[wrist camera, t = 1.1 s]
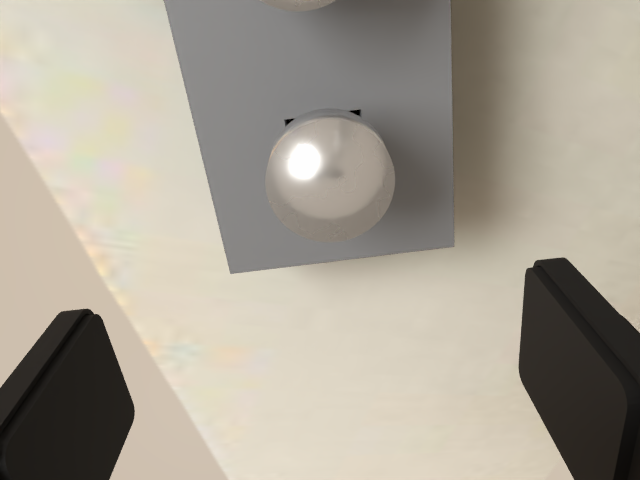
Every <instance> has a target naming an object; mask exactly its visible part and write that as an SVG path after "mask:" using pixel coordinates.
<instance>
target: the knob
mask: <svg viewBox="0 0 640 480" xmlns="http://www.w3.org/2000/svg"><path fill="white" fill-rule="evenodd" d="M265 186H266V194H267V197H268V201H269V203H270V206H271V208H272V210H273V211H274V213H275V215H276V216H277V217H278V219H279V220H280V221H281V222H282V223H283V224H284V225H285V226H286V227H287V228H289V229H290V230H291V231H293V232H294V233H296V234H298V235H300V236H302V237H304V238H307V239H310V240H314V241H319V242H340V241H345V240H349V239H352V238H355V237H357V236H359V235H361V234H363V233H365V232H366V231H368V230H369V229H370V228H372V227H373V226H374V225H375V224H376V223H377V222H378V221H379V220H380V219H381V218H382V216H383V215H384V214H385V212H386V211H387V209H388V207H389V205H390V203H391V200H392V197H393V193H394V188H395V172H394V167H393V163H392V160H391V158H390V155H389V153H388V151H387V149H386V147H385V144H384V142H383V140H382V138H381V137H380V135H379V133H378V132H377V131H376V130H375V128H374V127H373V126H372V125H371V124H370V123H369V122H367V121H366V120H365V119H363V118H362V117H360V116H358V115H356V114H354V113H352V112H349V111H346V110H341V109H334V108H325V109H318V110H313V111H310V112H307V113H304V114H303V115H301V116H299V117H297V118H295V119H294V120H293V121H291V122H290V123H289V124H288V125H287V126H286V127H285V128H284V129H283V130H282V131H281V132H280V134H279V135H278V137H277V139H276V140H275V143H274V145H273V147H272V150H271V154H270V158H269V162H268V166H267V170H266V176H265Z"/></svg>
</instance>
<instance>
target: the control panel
mask: <svg viewBox="0 0 640 480" xmlns="http://www.w3.org/2000/svg"><path fill="white" fill-rule="evenodd" d="M164 3H165V7H166V11H167V15H168V19H169V23H170V27H171V31H172V35H173V40H174V44H175V48H176V52H177V56H178V60H179V64H180V68H181V72H182V77H183V81H184V85H185V89H186V93H187V97H188V101H189V105H190V109H191V114H192V118H193V122H194V126H195V130H196V134H197V138H198V142H199V146H200V151H201V155H202V159H203V163H204V167H205V171H206V175H207V179H208V183H209V188H210V192H211V196H212V200H213V204H214V208H215V212H216V216H217V220H218V225H219V229H220V233H221V237H222V241H223V245H224V249H225V253H226V257H227V262H228V266H229V270H230V274H234V273H242V272H250V271H258V270H267V269H275V268H283V267H291V266H299V265H308V264H316V263H324V262H332V261H341V260H349V259H357V258H365V257H373V256H382V255H390V254H398V253H406V252H415V251H423V250H431V249H439V248H448V247H454V189H453V122H452V54H451V0H336V1H334V2H332V3H330V4H328V5H326V6H324V7H321V8H318V9H314V10H310V11H299V12H296V11H286V10H282V9H278V8H275V7H272V6H269V5H267V4H265V3H264V2H262V1H260V0H164ZM325 108H334V109H341V110H346V111H352V110H359V109H360V117H362V118H363V119H365V120H366V121H367V122H369V123H370V124H371V125H372V126H373V127H374V128H375V130H376V131H377V132H378V133H379V135H380V137H381V138H382V140H383V142H384V144H385V147H386V149H387V151H388V153H389V155H390V158H391V160H392V163H393V167H394V172H395V188H394V193H393V197H392V200H391V203H390V205H389V207H388V209H387V211H386V212H385V214H384V215H383V216H382V218H381V219H380V220H379V221H378V222H377V223H376V224H375V225H374V226H373V227H372V228H370V229H369V230H368V231H366V232H365V233H363V234H361V235H359V236H357V237H355V238H352V239H349V240H345V241H340V242H319V241H314V240H310V239H307V238H304V237H302V236H300V235H298V234H296V233H294V232H293V231H291V230H290V229H289V228H287V227H286V226H285V225H284V224H283V223H282V222H281V221H280V220H279V219H278V217H277V216H276V215H275V213H274V211H273V210H272V208H271V206H270V203H269V201H268V197H267V194H266V186H265V176H266V170H267V166H268V162H269V158H270V154H271V150H272V147H273V145H274V143H275V140H276V139H277V137H278V135H279V134H280V132H281V131H282V130H283V129H284V128H285V127H286V126H287V123H286V119H293V118H297V117H299V116H301V115H303V114H304V113H307V112H310V111H313V110H318V109H325Z"/></svg>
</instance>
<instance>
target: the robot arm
mask: <svg viewBox="0 0 640 480" xmlns="http://www.w3.org/2000/svg"><path fill="white" fill-rule="evenodd" d="M519 374H520V378H521V381H522V383H523V385H524V387H525V389H526V391H527V393H528V395H529V396H530V398H531V400H532V402H533V404H534V406H535V408H536V409H537V411H538V413H539V415H540V417H541V419H542V421H543V422H544V424H545V426H546V428H547V430H548V432H549V434H550V435H551V437H552V439H553V441H554V443H555V445H556V447H557V448H558V450H559V452H560V454H561V456H562V458H563V460H564V461H565V463H566V465H567V467H568V469H569V471H570V473H571V474H572V476H573V478H574V480H640V333H639V332H638V331H637V330H636V329H635V328H634V327H633V326H632V325H631V324H630V323H629V322H628V321H627V319H625V318H624V317H623V316H621V315H620V314H619V313H618V312H617V311H616V310H615V309H614V308H613V307H612V306H611V305H610V304H609V303H608V301H607V300H606V299H605V298H604V297H603V296H602V295H601V294H600V293H599V292H598V291H597V290H596V289H595V288H594V287H593V286H592V285H591V284H590V283H589V282H588V281H587V279H586V278H585V277H584V276H583V275H582V274H581V273H580V272H579V271H578V270H577V269H576V268H575V267H574V266H573V265H572V264H571V263H570V262H569V261H568V260H567V259H566V258H554V259H544V260H537V261H536V262H535V263H534V266H533V268H528V269H527V270H526V274H525V285H524V299H523V313H522V327H521V341H520V354H519ZM134 412H135V411H134V404H133V401H132V399H131V396H130V393H129V391H128V388H127V385H126V383H125V380H124V377H123V374H122V372H121V369H120V366H119V364H118V361H117V358H116V355H115V353H114V350H113V347H112V345H111V342H110V339H109V336H108V334H107V331H106V329H105V326H104V323H103V320H102V318H101V317H100V316H99V315H98V314H94V313H93V312H92V311H91V310H89V309H80V310H71V311H63V312H60V313H59V314H58V315H57V316H56V318H55V319H54V320H53V321H52V323H51V324H50V325H49V326H48V328H47V329H46V330H45V332H44V333H43V334H42V335H41V337H40V338H39V339H38V340H37V342H36V343H35V344H34V346H33V347H32V348H31V350H30V351H29V352H28V353H27V355H26V356H25V357H24V358H23V360H22V361H21V362H20V363H19V365H18V366H17V367H16V369H15V370H14V371H13V373H12V374H11V375H10V376H9V378H8V379H7V380H6V381H5V383H4V384H3V385H2V387H1V388H0V480H109V479H110V476H111V474H112V471H113V469H114V467H115V464H116V462H117V460H118V457H119V454H120V452H121V450H122V447H123V445H124V442H125V440H126V438H127V435H128V433H129V430H130V428H131V426H132V423H133V420H134Z"/></svg>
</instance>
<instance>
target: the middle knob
mask: <svg viewBox="0 0 640 480" xmlns="http://www.w3.org/2000/svg"><path fill="white" fill-rule="evenodd" d="M260 1H262V2H264V3H265V4H267V5H269V6H272V7H275V8H278V9H282V10H286V11H296V12H299V11H310V10H314V9H318V8H321V7H324V6H326V5H328V4H330V3H332V2H334V1H336V0H260Z"/></svg>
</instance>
